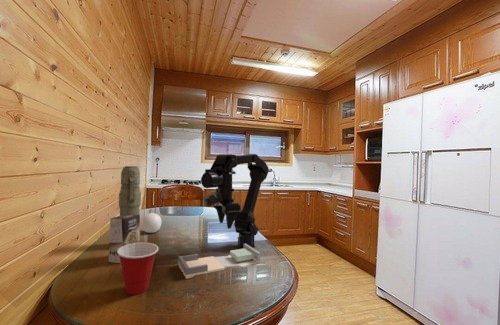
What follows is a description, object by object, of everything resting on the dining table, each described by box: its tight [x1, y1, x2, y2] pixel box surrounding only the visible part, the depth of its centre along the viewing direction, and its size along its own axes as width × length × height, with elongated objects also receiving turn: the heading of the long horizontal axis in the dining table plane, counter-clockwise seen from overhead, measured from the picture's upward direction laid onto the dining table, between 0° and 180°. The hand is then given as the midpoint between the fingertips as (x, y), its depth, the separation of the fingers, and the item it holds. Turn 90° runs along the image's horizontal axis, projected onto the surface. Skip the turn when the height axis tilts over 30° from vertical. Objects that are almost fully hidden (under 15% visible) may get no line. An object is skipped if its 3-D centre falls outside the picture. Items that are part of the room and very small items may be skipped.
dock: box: [177, 253, 258, 280], centre depth 89 cm, size 26×12×3 cm, turn 118°
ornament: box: [140, 209, 163, 234], centre depth 131 cm, size 10×10×12 cm
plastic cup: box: [117, 242, 159, 296], centre depth 70 cm, size 11×11×12 cm
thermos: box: [118, 165, 142, 243], centre depth 110 cm, size 9×12×35 cm
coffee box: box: [108, 214, 141, 264], centre depth 94 cm, size 9×6×16 cm
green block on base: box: [229, 244, 261, 263], centre depth 94 cm, size 8×12×4 cm, turn 28°
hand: (224, 225), depth 97 cm, fingers open, 9 cm apart
